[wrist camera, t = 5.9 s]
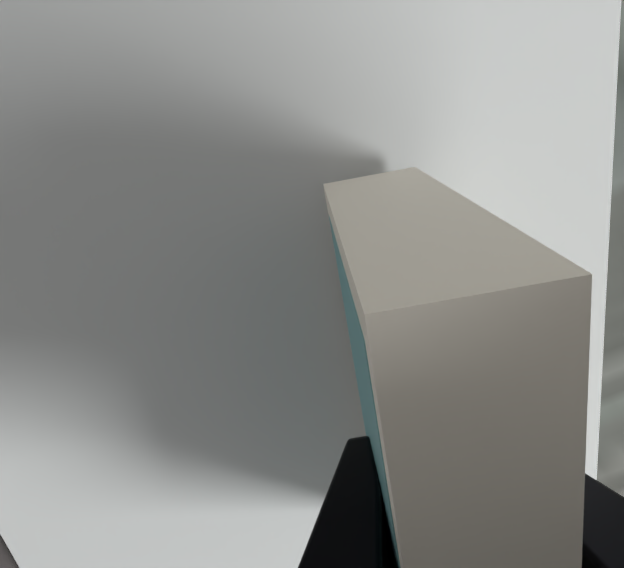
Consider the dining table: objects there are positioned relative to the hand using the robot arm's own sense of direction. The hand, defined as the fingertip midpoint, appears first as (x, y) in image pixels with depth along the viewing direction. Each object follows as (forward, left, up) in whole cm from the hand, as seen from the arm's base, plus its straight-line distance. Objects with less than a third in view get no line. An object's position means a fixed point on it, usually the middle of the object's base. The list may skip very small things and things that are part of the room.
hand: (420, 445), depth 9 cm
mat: (-1, +3, -3) cm, 4 cm away
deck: (0, 0, -2) cm, 2 cm away
